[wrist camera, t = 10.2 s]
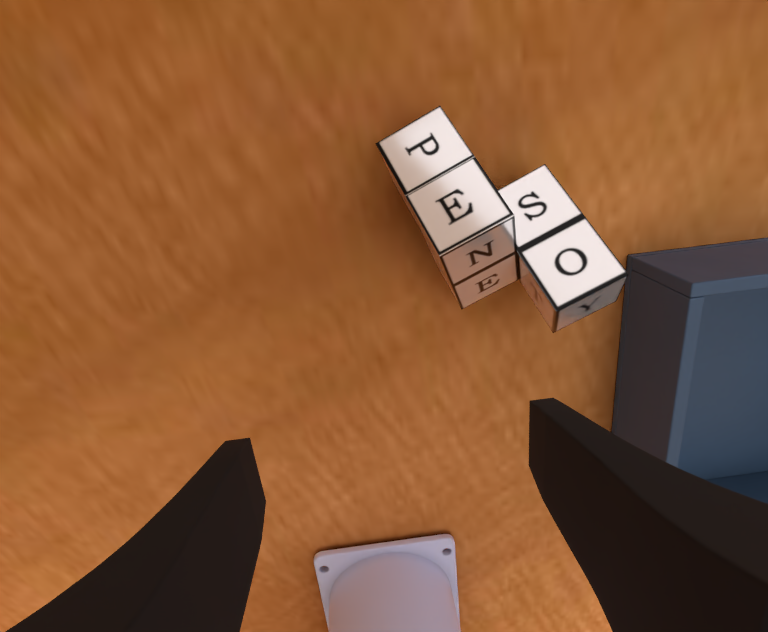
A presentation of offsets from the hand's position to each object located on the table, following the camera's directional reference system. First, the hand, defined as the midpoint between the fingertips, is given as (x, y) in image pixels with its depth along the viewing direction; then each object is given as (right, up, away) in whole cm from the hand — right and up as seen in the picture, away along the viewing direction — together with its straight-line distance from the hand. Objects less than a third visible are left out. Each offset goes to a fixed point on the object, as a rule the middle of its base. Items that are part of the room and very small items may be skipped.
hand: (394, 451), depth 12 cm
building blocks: (+4, +8, +9) cm, 12 cm away
